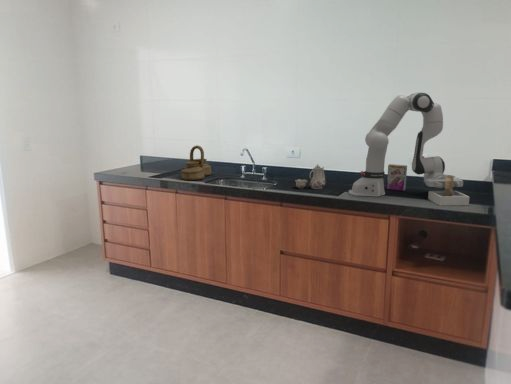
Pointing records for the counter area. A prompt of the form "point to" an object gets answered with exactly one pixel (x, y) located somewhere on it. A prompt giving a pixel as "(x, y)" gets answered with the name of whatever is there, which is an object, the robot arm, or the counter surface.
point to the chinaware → (314, 179)
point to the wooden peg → (448, 185)
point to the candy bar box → (396, 177)
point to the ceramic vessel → (196, 167)
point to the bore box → (448, 198)
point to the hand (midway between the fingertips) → (450, 185)
